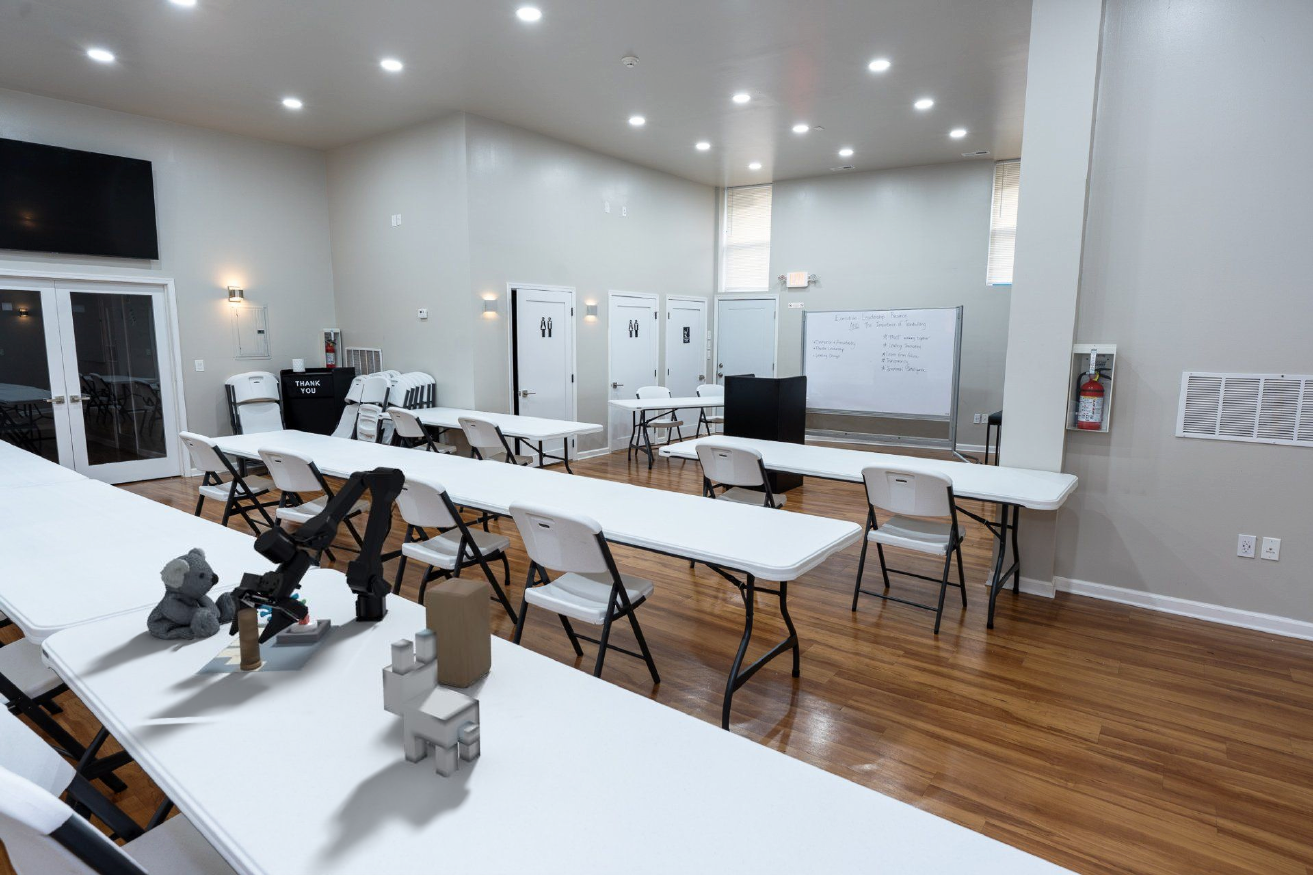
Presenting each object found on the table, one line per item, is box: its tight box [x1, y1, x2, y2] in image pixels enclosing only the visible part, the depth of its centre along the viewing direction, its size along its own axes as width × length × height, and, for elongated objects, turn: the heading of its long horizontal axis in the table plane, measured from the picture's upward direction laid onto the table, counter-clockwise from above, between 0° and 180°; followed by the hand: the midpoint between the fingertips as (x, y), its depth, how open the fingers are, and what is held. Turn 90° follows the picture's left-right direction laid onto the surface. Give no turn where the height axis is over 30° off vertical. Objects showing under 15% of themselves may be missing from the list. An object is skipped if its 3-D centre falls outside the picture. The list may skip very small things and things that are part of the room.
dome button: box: [291, 614, 318, 633], centre depth 162 cm, size 6×6×4 cm
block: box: [424, 577, 492, 689], centre depth 144 cm, size 10×10×20 cm
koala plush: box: [146, 547, 236, 640], centre depth 166 cm, size 17×18×20 cm
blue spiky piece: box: [257, 592, 307, 623], centre depth 175 cm, size 11×6×10 cm
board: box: [195, 618, 340, 675], centre depth 156 cm, size 21×24×3 cm
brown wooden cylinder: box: [238, 608, 262, 671], centre depth 146 cm, size 4×4×12 cm
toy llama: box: [382, 628, 481, 779], centre depth 116 cm, size 8×18×20 cm, turn 60°
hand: (244, 639), depth 145 cm, fingers open, 9 cm apart
